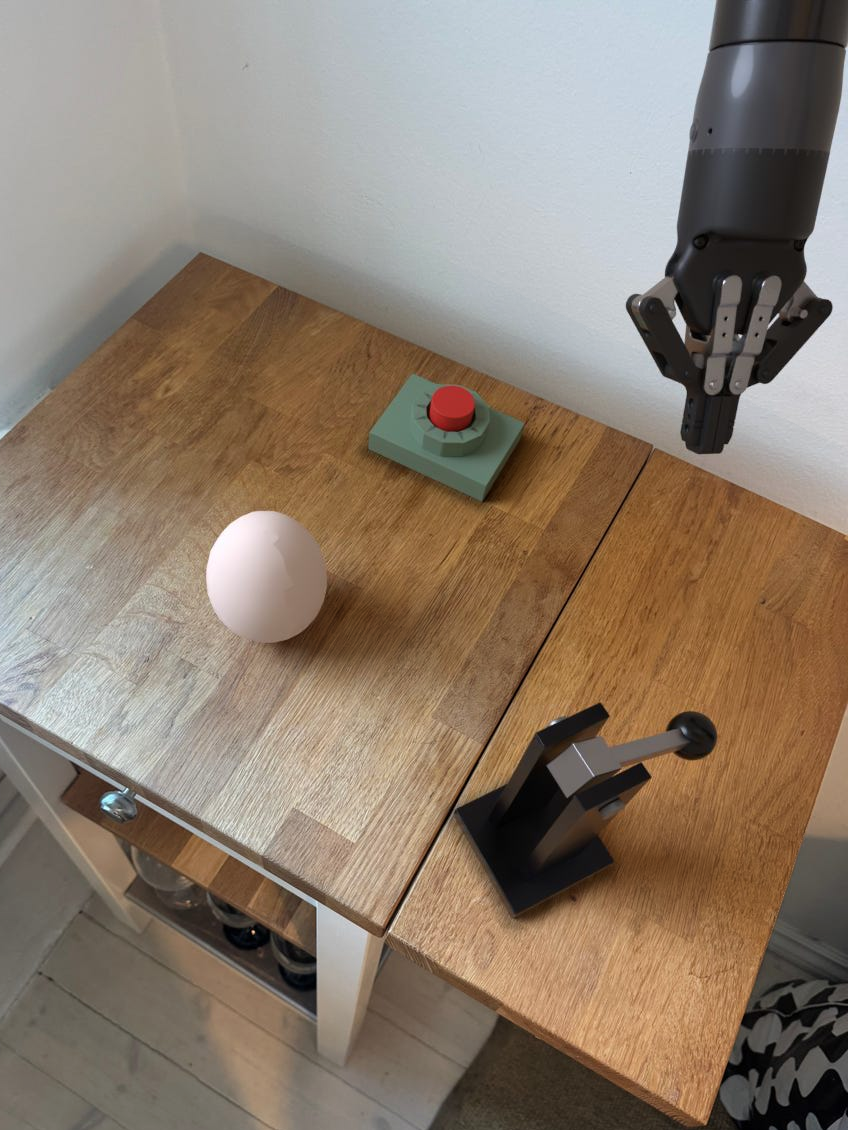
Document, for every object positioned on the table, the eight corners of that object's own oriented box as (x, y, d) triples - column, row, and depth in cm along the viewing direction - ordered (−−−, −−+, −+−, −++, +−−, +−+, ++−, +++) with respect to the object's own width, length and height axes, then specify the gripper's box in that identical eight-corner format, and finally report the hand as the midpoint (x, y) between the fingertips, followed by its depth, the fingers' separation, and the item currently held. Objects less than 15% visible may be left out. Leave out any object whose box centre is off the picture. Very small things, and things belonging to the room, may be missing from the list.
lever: (671, 725, 63) (706, 698, 61) (700, 765, 61) (736, 739, 59) (536, 761, 53) (572, 731, 51) (566, 810, 51) (605, 780, 49)
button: (440, 393, 79) (443, 379, 77) (478, 410, 78) (482, 395, 77) (421, 421, 77) (424, 406, 76) (460, 438, 77) (463, 424, 75)
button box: (410, 390, 84) (414, 357, 80) (520, 440, 82) (529, 408, 78) (368, 449, 80) (370, 417, 77) (482, 502, 78) (490, 471, 75)
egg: (304, 558, 74) (305, 465, 64) (341, 647, 71) (347, 564, 61) (199, 586, 72) (182, 496, 62) (231, 680, 69) (218, 600, 59)
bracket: (548, 767, 67) (611, 667, 53) (610, 866, 64) (695, 787, 50) (452, 814, 65) (493, 723, 51) (511, 919, 61) (572, 851, 48)
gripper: (684, 137, 47) (634, 469, 55) (908, 147, 50) (831, 463, 57) (619, 145, 54) (583, 440, 61) (820, 153, 57) (762, 436, 64)
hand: (703, 451), depth 59 cm, fingers closed
